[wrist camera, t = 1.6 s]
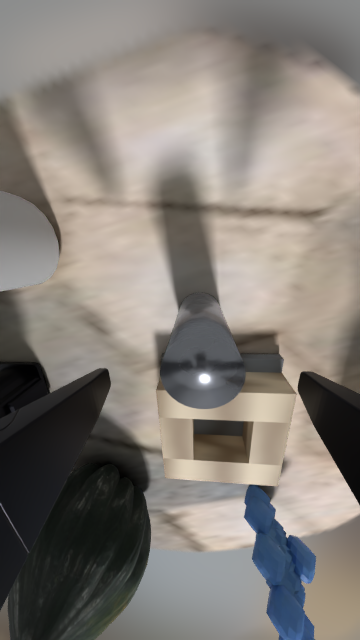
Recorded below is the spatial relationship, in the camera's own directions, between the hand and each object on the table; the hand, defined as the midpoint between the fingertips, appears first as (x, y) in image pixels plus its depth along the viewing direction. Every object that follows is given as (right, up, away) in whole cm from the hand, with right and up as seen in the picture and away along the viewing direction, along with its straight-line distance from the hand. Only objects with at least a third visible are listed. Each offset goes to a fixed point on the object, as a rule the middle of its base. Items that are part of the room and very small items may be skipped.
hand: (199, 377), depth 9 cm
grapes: (+11, -22, +18) cm, 30 cm away
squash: (-12, -22, +20) cm, 32 cm away
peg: (+1, +3, +9) cm, 10 cm away
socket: (+4, -8, +13) cm, 16 cm away
